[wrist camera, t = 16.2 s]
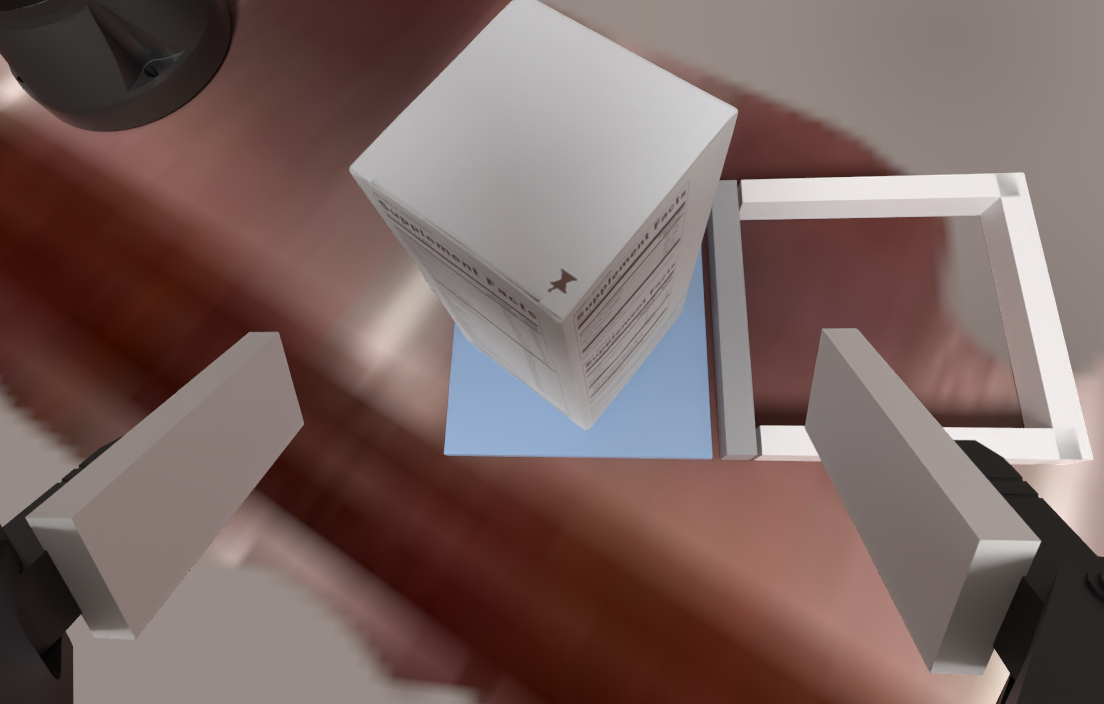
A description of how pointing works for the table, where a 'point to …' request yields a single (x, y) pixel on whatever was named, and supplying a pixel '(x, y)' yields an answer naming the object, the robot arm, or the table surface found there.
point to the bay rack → (681, 356)
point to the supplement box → (554, 200)
